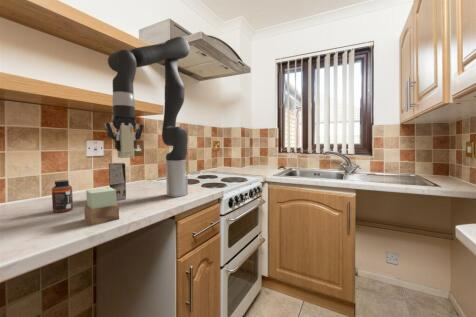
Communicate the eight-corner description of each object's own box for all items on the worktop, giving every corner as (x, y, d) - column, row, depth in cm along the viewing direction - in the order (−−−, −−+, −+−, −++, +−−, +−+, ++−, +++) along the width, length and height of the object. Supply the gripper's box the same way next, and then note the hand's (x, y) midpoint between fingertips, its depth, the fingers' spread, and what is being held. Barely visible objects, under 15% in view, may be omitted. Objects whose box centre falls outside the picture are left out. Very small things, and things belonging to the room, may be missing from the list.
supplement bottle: (74, 210, 83) (73, 180, 82) (54, 214, 78) (52, 182, 78) (71, 207, 87) (69, 178, 86) (51, 210, 82) (49, 180, 81)
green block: (110, 201, 78) (109, 187, 78) (116, 205, 73) (116, 190, 73) (86, 204, 73) (86, 190, 73) (91, 209, 68) (91, 193, 68)
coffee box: (126, 199, 100) (125, 163, 99) (110, 201, 96) (109, 164, 95) (124, 195, 107) (123, 162, 106) (109, 196, 104) (108, 162, 103)
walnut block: (111, 214, 79) (110, 200, 78) (119, 219, 73) (118, 205, 73) (84, 220, 73) (84, 205, 73) (91, 226, 68) (90, 210, 67)
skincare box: (134, 157, 85) (133, 125, 84) (122, 158, 82) (121, 125, 81) (128, 156, 89) (127, 126, 88) (117, 157, 86) (115, 126, 85)
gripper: (138, 108, 92) (140, 149, 93) (99, 104, 81) (101, 150, 83) (146, 106, 87) (148, 150, 88) (106, 102, 76) (108, 151, 78)
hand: (125, 150), depth 85 cm, fingers closed on skincare box, 4 cm apart
